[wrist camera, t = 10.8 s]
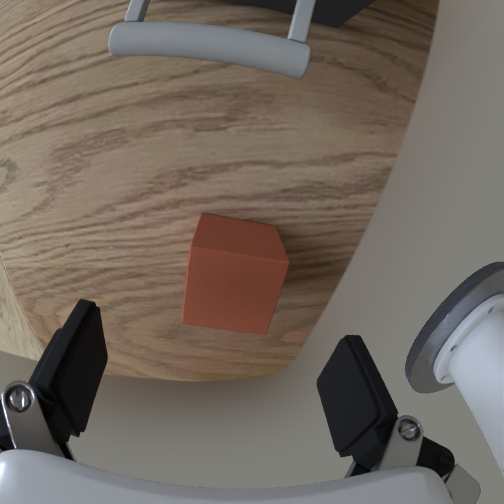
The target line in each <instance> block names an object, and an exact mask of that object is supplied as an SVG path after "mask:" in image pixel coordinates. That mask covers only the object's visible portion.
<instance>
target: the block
mask: <svg viewBox="0 0 504 504" xmlns="http://www.w3.org/2000/svg"><path fill="white" fill-rule="evenodd" d="M289 264H290V262H289V259H288V257H287V254H286V251H285V249H284V246H283V243H282V241H281V238H280V235H279V233H278V230H277V227H276V226H272V225H266V224H261V223H256V222H250V221H245V220H239V219H234V218H228V217H223V216H217V215H211V214H205V213H201V215H200V217H199V220H198V223H197V226H196V229H195V233H194V236H193V239H192V242H191V245H190V250H189V258H188V266H187V275H186V284H185V293H184V303H183V313H182V323H185V324H191V325H197V326H203V327H210V328H217V329H224V330H231V331H239V332H247V333H255V334H264V335H265V334H266V333H267V330H268V328H269V325H270V322H271V319H272V316H273V313H274V310H275V307H276V304H277V301H278V298H279V295H280V292H281V289H282V286H283V283H284V280H285V276H286V273H287V270H288V267H289Z"/></svg>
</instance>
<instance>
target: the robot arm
mask: <svg viewBox="0 0 504 504" xmlns="http://www.w3.org/2000/svg"><path fill="white" fill-rule="evenodd" d="M107 359H108V354H107V349H106V344H105V338H104V333H103V327H102V320H101V314H100V308H99V307H97V306H96V304H95V302H92V301H88V300H84V299H80V300H79V301H78V303H77V304H76V306H75V308H74V309H73V311H72V312H71V314H70V316H69V317H68V319H67V321H66V322H65V324H64V326H63V327H62V328H59V329H58V330H57V331H56V332H55V334H54V335H53V337H52V339H51V340H50V342H49V344H48V346H47V348H46V349H45V351H44V353H43V355H42V357H41V358H40V360H39V362H38V364H37V366H36V368H35V370H34V372H33V374H32V376H31V378H30V380H29V382H28V383H26V382H25V381H13V382H11V383H9V384H8V385H7V386H5V388H4V390H3V391H2V395H1V400H0V504H476V502H477V500H478V498H479V496H480V493H481V488H480V485H479V483H478V482H477V481H476V480H475V479H474V478H473V477H472V476H470V475H469V474H468V473H467V472H466V471H465V470H464V469H463V468H462V467H460V466H459V465H458V464H456V465H454V463H455V460H454V456H453V454H452V453H451V451H450V450H449V449H447V448H445V447H443V446H441V445H439V444H438V443H436V442H434V441H432V440H429V439H428V438H426V437H424V436H423V428H422V425H421V424H420V422H419V421H418V420H417V419H415V418H414V417H412V416H409V415H408V416H407V415H404V416H401V417H399V418H398V417H397V414H398V411H397V409H396V407H395V405H394V402H393V400H392V398H391V396H390V394H389V392H388V390H387V388H386V386H385V383H384V381H383V379H382V378H381V375H380V373H379V371H378V369H377V367H376V365H375V363H374V361H373V359H372V357H371V355H370V353H369V351H368V349H367V348H366V345H365V344H364V342H363V340H362V338H361V336H359V335H346V336H345V337H344V338H342V339H341V340H340V341H339V343H338V345H337V347H336V348H335V350H334V352H333V354H332V356H331V357H330V359H329V361H328V362H327V364H326V366H325V367H324V369H323V371H322V372H321V374H320V376H319V377H318V379H317V388H318V391H319V394H320V398H321V402H322V405H323V409H324V412H325V416H326V419H327V423H328V426H329V430H330V433H331V436H332V440H333V444H334V447H335V450H336V451H337V452H339V455H340V457H346V456H351V455H352V456H353V462H352V464H351V466H350V468H349V470H348V472H347V474H346V476H345V478H343V479H338V480H332V481H327V482H320V483H314V484H306V485H299V486H288V487H276V488H259V489H257V488H256V489H225V488H205V487H193V486H183V485H175V484H167V483H161V482H154V481H149V480H144V479H139V478H134V477H129V476H125V475H121V474H117V473H113V472H109V471H105V470H101V469H98V468H95V467H91V466H88V465H85V464H82V463H78V462H77V460H76V458H75V457H74V455H73V453H72V451H71V449H70V447H69V444H68V441H69V438H70V435H73V436H76V437H79V436H80V432H84V431H85V429H86V426H87V422H88V419H89V415H90V412H91V409H92V405H93V402H94V399H95V396H96V393H97V390H98V387H99V384H100V381H101V378H102V375H103V372H104V369H105V367H106V364H107ZM433 374H434V376H435V378H436V379H437V381H438V382H440V383H442V384H448V383H452V382H455V384H456V386H457V387H458V389H459V390H460V392H461V394H462V396H463V397H464V399H465V401H466V403H467V404H468V406H469V408H470V410H471V412H472V413H473V415H474V417H475V419H476V421H477V423H478V425H479V426H480V428H481V430H482V432H483V434H484V436H485V438H486V440H487V442H488V444H489V446H490V448H491V450H492V453H493V455H494V457H495V459H496V461H497V464H498V466H499V468H500V470H501V472H502V474H503V477H504V294H498V295H495V296H492V297H490V298H488V299H487V300H485V301H484V302H482V303H481V304H480V305H479V306H477V307H476V308H475V309H474V310H473V311H472V312H471V313H470V314H469V315H468V316H466V317H465V319H464V320H463V321H462V322H461V323H460V324H459V325H458V326H457V327H456V329H455V330H454V331H453V332H452V334H451V335H450V336H449V337H448V339H447V340H446V342H445V343H444V345H443V346H442V348H441V350H440V351H439V353H438V355H437V357H436V359H435V363H434V366H433Z"/></svg>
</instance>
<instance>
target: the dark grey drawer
mask: <svg viewBox="0 0 504 504" xmlns="http://www.w3.org/2000/svg"><path fill="white" fill-rule="evenodd" d="M220 1H229V2H236V3H242V4H248V5H254V6H259V7H264V8H269V9H273V10H278V11H282V12H286V13H290V14H293V18H292V22H291V26H290V30H289V34H288V38H287V39H285V38H281V37H277V36H273V35H268V34H264V33H259V32H254V31H249V30H243V29H237V28H231V27H224V26H216V25H208V24H197V23H183V22H143V20H144V17H145V14H146V11H147V8H148V5H149V3H150V0H131V2H130V5H129V8H128V11H127V13H126V16H125V19H124V21H125V22H126V23H119V24H117V25H115V26H114V28H113V29H112V31H111V34H110V37H109V51H110V53H111V54H112V55H114V56H168V57H182V58H192V59H201V60H209V61H217V62H223V63H230V64H236V65H241V66H246V67H251V68H256V69H261V70H265V71H270V72H274V73H278V74H282V75H286V76H290V77H293V78H297V79H301V78H302V77H303V75H304V74H305V72H306V69H307V67H308V64H309V60H310V56H311V47H310V46H309V45H306V44H304V43H305V42H306V39H307V35H308V31H309V27H310V22H311V20H314V21H317V22H320V23H323V24H326V25H329V26H331V27H334V28H338V27H339V26H341V25H342V24H343V23H345V22H346V21H347V20H349V19H350V18H351V17H353V16H354V15H355V14H357V13H358V12H360V11H361V10H362V9H364V8H365V7H367V6H368V5H370V4H371V3H372V2H374V1H375V0H220Z"/></svg>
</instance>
